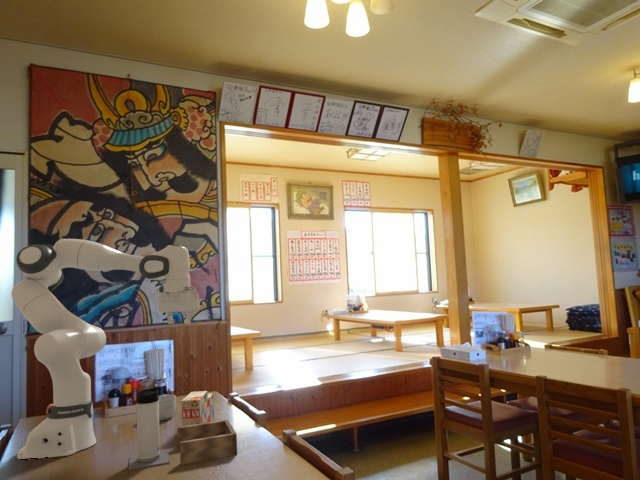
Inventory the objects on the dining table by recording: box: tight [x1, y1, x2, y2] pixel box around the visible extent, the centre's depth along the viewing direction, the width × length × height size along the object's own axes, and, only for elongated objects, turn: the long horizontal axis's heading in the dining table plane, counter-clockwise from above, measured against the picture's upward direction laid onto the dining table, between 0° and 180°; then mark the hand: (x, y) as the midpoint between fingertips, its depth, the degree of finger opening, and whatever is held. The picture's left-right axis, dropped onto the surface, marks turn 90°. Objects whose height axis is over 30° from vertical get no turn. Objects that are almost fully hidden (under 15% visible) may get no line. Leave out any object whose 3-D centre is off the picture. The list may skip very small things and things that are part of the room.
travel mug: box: [136, 387, 161, 463], centre depth 137 cm, size 6×7×20 cm
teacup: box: [158, 394, 177, 421], centre depth 182 cm, size 14×11×8 cm
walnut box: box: [176, 419, 238, 466], centre depth 142 cm, size 16×16×6 cm
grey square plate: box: [128, 449, 170, 471], centre depth 136 cm, size 11×11×1 cm
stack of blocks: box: [181, 390, 215, 427], centre depth 168 cm, size 21×6×12 cm, turn 1°
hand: (179, 324), depth 172 cm, fingers open, 8 cm apart
